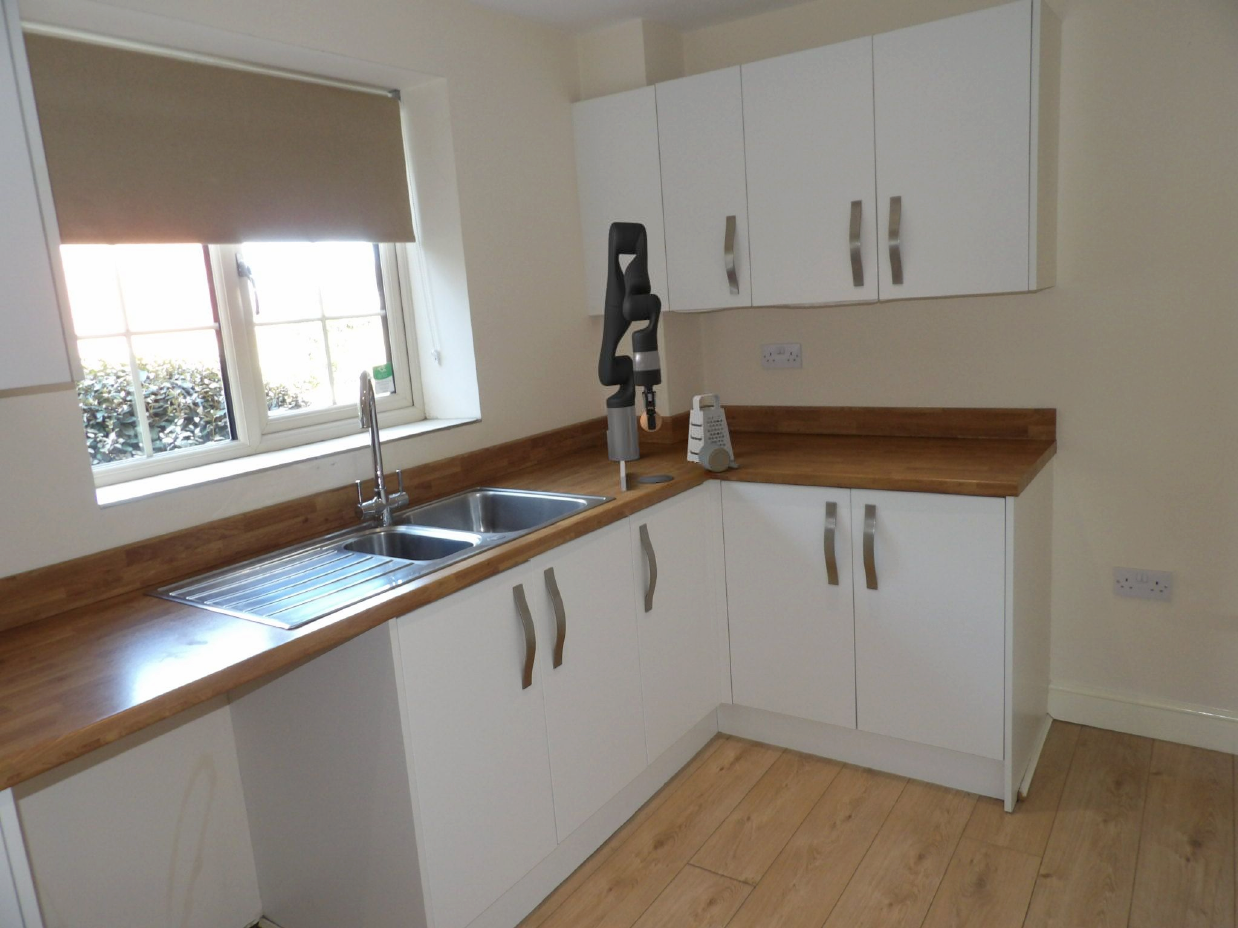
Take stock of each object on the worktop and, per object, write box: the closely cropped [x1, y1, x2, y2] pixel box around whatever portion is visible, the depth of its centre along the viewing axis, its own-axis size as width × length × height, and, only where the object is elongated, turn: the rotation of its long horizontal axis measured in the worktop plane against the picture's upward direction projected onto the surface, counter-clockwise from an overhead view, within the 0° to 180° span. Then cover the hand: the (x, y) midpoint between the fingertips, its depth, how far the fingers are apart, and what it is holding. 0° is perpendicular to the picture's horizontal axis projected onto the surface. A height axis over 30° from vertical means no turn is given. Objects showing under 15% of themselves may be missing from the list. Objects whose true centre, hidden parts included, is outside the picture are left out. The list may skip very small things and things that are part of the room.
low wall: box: [619, 461, 627, 492], centre depth 253 cm, size 24×1×4 cm, turn 0°
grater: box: [686, 393, 735, 464], centre depth 275 cm, size 10×10×20 cm
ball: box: [639, 411, 663, 433], centre depth 250 cm, size 6×6×6 cm
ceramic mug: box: [698, 443, 739, 473], centre depth 259 cm, size 11×8×8 cm
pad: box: [637, 474, 674, 484], centre depth 253 cm, size 10×10×1 cm
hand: (651, 427), depth 251 cm, fingers closed on ball, 6 cm apart
